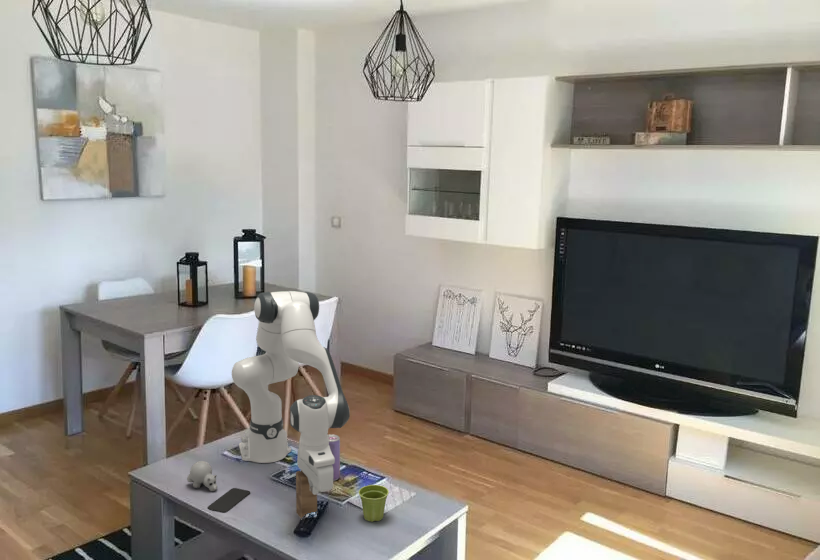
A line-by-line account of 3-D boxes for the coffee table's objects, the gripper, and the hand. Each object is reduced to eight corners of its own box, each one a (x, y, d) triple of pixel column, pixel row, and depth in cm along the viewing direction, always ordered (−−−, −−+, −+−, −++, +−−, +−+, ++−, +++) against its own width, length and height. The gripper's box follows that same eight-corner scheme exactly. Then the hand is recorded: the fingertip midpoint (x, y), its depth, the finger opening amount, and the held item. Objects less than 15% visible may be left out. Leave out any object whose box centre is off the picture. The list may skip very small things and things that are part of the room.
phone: (205, 507, 227) (232, 487, 241) (205, 510, 227) (232, 489, 241) (225, 512, 224) (251, 491, 238) (225, 514, 224) (251, 493, 238)
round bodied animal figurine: (204, 502, 236) (209, 483, 233) (183, 480, 242) (187, 461, 238) (221, 494, 242) (226, 475, 238) (200, 472, 248) (205, 453, 244)
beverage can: (336, 482, 246) (337, 441, 244) (320, 480, 248) (320, 440, 245) (341, 475, 252) (342, 435, 250) (325, 473, 253) (325, 433, 251)
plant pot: (378, 527, 218) (378, 501, 216) (352, 519, 222) (352, 493, 221) (393, 514, 226) (394, 489, 224) (368, 507, 230) (369, 482, 229)
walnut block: (296, 512, 226) (296, 471, 223) (311, 509, 228) (311, 468, 225) (302, 520, 221) (301, 478, 219) (317, 516, 224) (317, 474, 221)
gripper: (292, 439, 222) (292, 480, 225) (317, 465, 205) (317, 509, 207) (311, 435, 225) (311, 476, 228) (337, 460, 208) (337, 504, 210)
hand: (314, 492), depth 217 cm, fingers closed
